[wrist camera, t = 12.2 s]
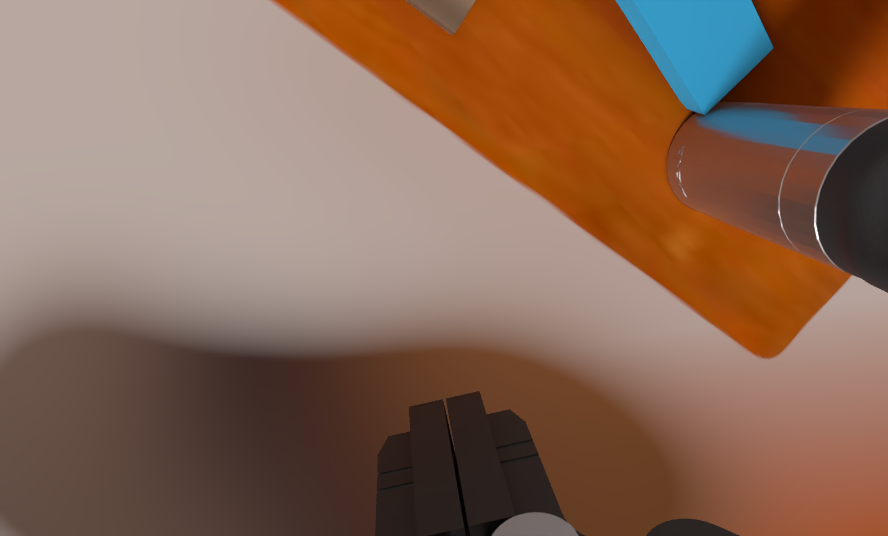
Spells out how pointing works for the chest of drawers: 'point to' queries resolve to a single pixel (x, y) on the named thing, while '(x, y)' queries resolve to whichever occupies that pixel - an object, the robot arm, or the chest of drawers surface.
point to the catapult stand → (444, 12)
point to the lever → (700, 44)
